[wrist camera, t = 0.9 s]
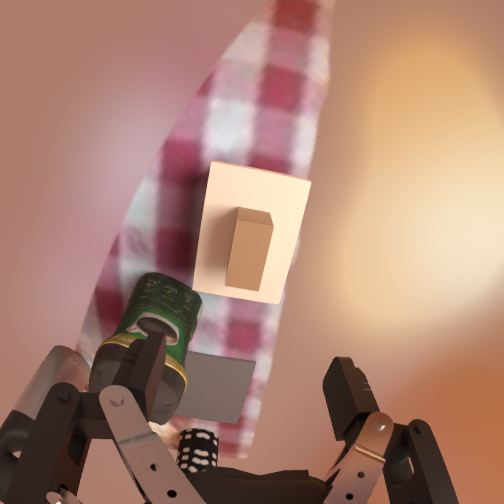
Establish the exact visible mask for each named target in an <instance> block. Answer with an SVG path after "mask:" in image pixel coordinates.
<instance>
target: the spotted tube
mask: <svg viewBox="0 0 504 504" xmlns="http://www.w3.org/2000/svg"><path fill="white" fill-rule="evenodd" d="M218 443H219V438H218V437H217V435H215V434H214V433H212V432H210V431H207V430H203V429H186V430H184V431H183V432H182V433H181V436H180V442H179V448H178V454H177V460H176V463H177V465H178V466H179V468H180V469H181V471H182V472H183V473H184V475H187V474H190V473H193V472H198V471H205V469H206V465H209V466H217V459H218Z"/></svg>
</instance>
